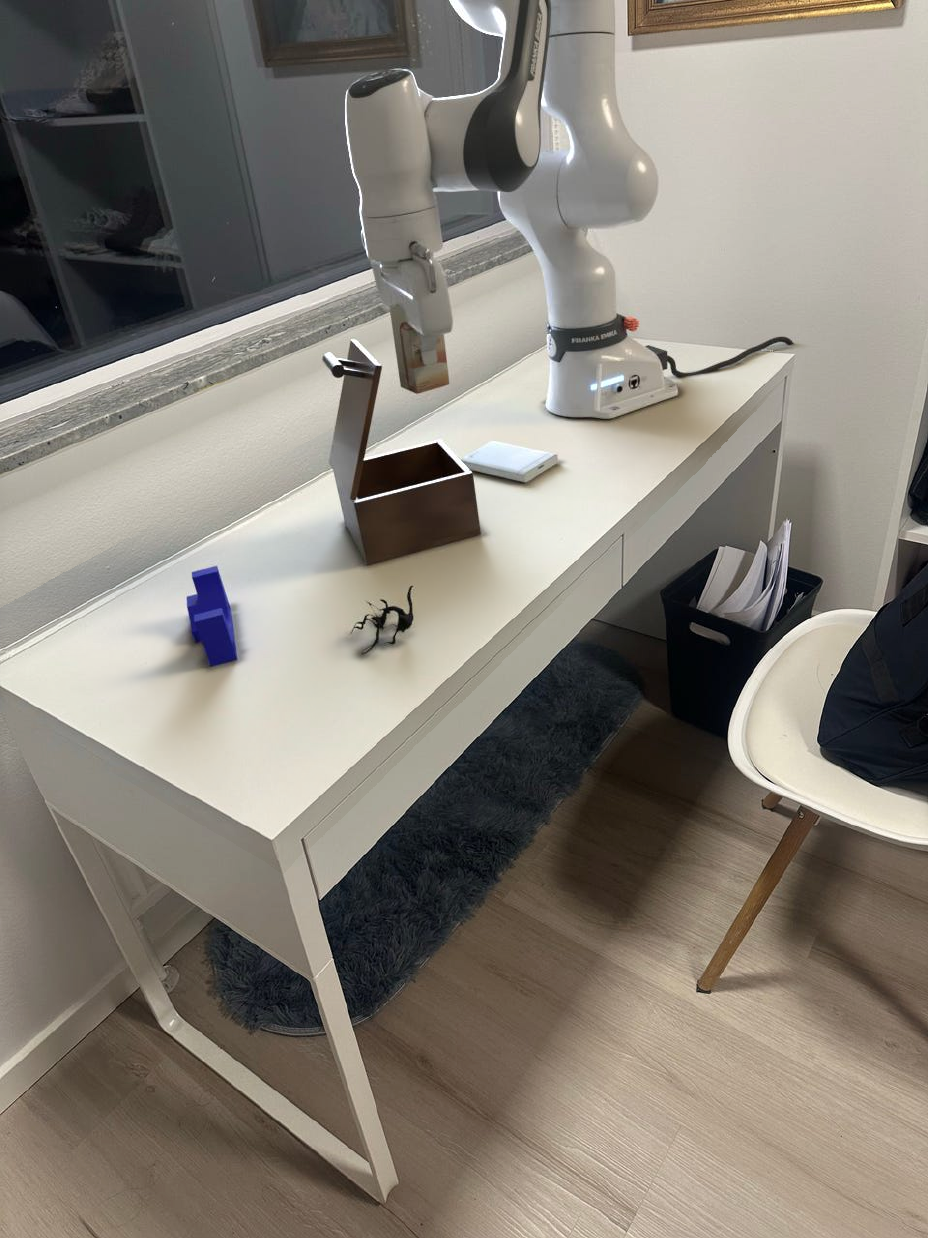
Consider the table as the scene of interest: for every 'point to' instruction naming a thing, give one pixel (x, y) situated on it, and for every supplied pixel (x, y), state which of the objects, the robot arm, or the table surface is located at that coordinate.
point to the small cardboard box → (416, 357)
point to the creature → (403, 619)
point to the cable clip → (212, 617)
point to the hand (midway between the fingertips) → (421, 356)
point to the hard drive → (509, 461)
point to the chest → (411, 502)
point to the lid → (353, 413)
